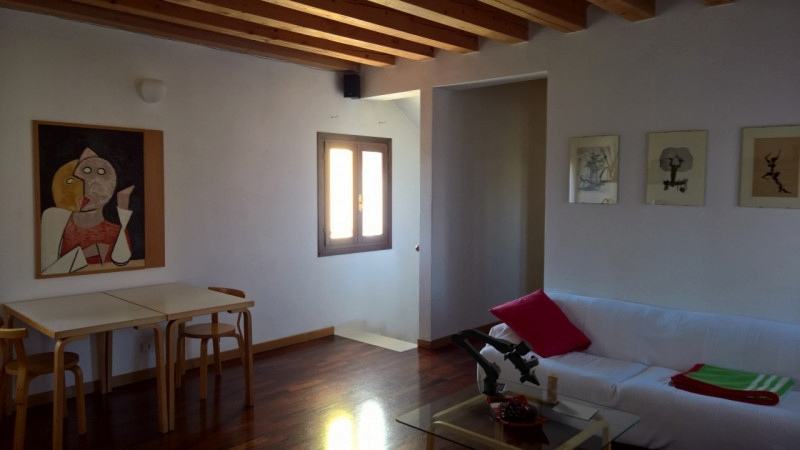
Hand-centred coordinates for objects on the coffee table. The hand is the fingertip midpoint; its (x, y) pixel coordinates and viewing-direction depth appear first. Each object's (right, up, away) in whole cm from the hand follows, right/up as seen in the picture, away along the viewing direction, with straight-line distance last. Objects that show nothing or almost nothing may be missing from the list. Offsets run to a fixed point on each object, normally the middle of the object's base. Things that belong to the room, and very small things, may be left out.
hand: (539, 385), depth 299 cm
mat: (+14, -9, -12) cm, 21 cm away
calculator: (-19, -10, -15) cm, 26 cm away
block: (+6, -8, -1) cm, 10 cm away
